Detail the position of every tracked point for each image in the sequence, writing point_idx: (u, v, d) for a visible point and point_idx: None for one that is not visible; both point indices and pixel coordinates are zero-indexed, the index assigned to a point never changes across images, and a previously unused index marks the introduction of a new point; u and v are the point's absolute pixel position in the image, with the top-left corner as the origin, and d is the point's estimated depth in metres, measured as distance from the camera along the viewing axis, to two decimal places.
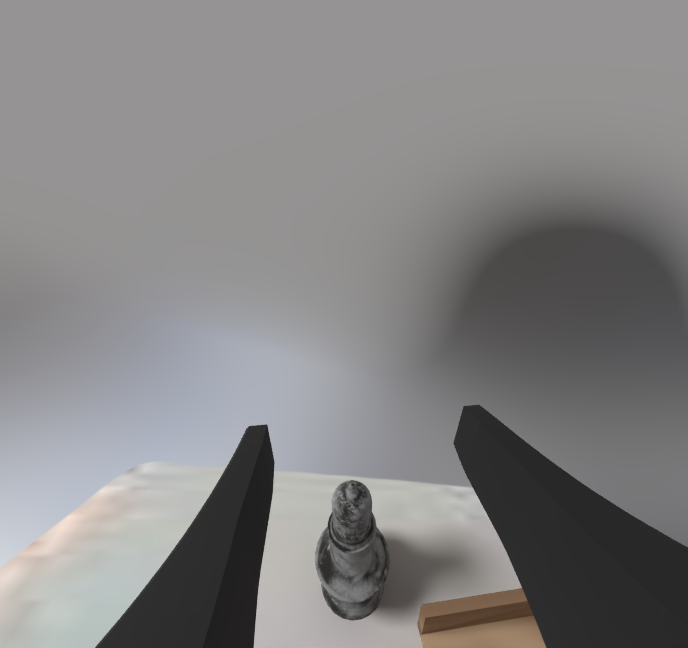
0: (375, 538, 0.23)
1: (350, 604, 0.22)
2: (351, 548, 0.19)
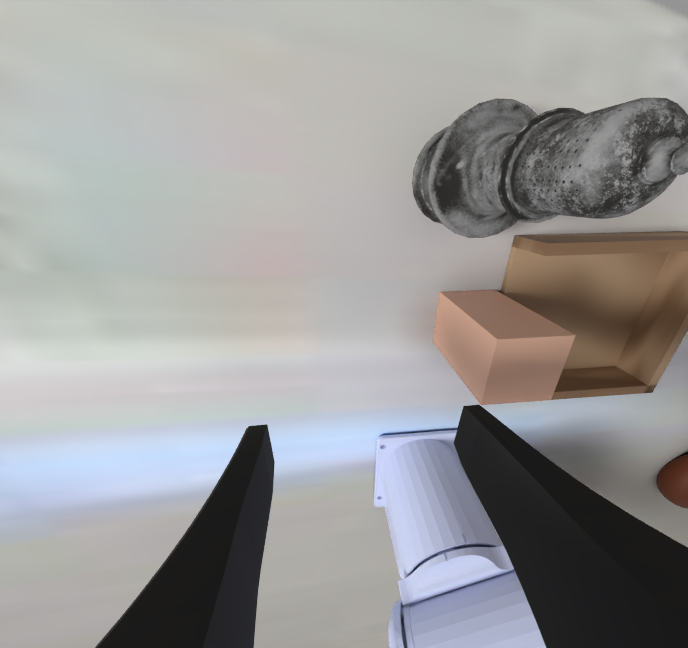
0: None
1: None
2: (531, 217, 0.11)
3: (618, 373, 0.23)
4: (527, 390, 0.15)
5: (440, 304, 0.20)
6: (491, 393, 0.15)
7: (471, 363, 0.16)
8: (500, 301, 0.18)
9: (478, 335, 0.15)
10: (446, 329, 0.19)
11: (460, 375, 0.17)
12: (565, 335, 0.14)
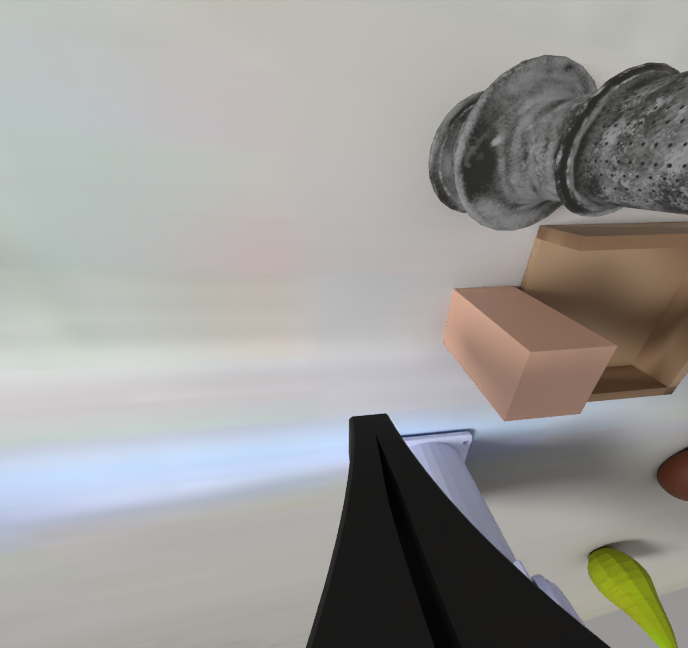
0: None
1: None
2: (592, 210, 0.08)
3: (636, 373, 0.21)
4: (556, 404, 0.13)
5: (453, 302, 0.18)
6: (517, 409, 0.13)
7: (492, 373, 0.14)
8: (522, 301, 0.16)
9: (503, 344, 0.13)
10: (460, 331, 0.17)
11: (477, 384, 0.16)
12: (606, 346, 0.12)
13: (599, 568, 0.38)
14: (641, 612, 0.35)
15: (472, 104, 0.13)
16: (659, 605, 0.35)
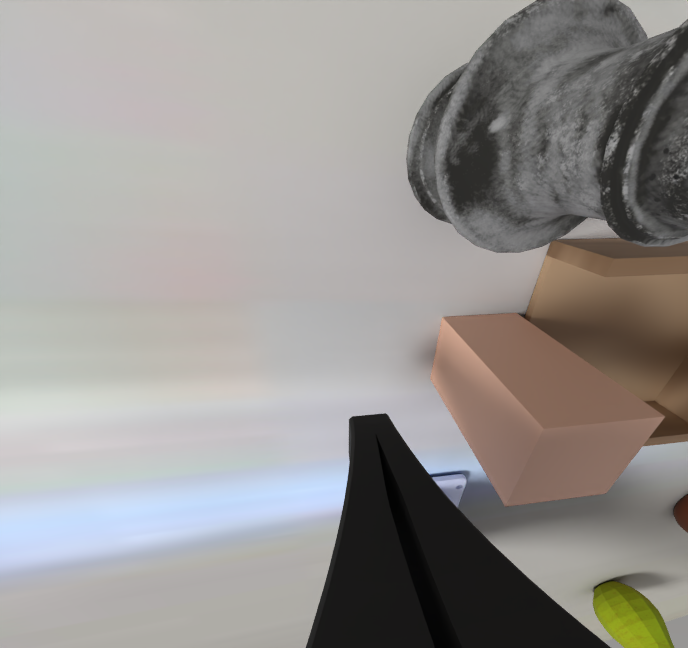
0: None
1: None
2: (660, 238, 0.05)
3: (661, 412, 0.18)
4: (575, 486, 0.10)
5: (442, 334, 0.14)
6: (523, 493, 0.10)
7: (490, 438, 0.11)
8: (528, 337, 0.13)
9: (504, 405, 0.10)
10: (451, 371, 0.14)
11: (471, 444, 0.12)
12: (649, 417, 0.09)
13: (606, 606, 0.35)
14: None
15: None
16: None
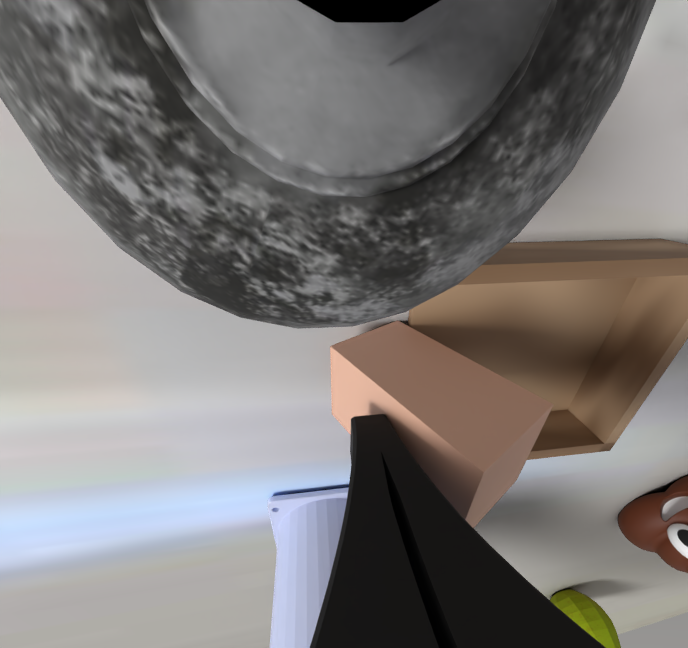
0: None
1: None
2: None
3: (570, 422, 0.17)
4: (500, 492, 0.10)
5: (335, 365, 0.12)
6: None
7: None
8: (419, 347, 0.12)
9: (429, 445, 0.09)
10: (355, 407, 0.12)
11: None
12: (545, 411, 0.09)
13: None
14: None
15: None
16: None
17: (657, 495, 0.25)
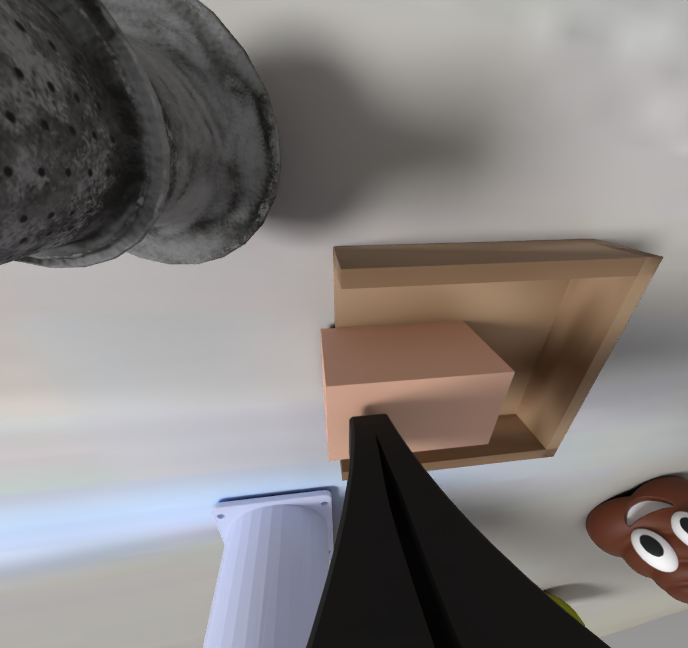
0: (232, 107, 0.06)
1: None
2: (38, 258, 0.04)
3: (515, 427, 0.17)
4: None
5: (336, 402, 0.10)
6: None
7: (459, 421, 0.12)
8: (372, 337, 0.13)
9: (470, 388, 0.11)
10: None
11: (434, 447, 0.12)
12: (467, 325, 0.14)
13: None
14: None
15: None
16: None
17: (622, 499, 0.25)
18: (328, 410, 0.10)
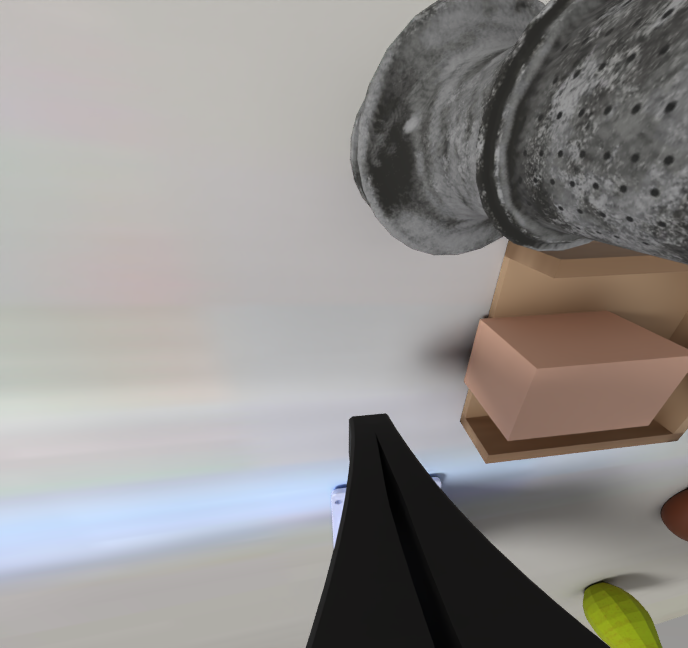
0: None
1: None
2: (550, 241, 0.05)
3: None
4: None
5: (539, 384, 0.11)
6: None
7: (633, 403, 0.12)
8: (536, 325, 0.13)
9: (656, 370, 0.11)
10: (562, 404, 0.12)
11: (601, 428, 0.13)
12: (616, 315, 0.14)
13: (595, 608, 0.35)
14: None
15: None
16: None
17: None
18: (529, 391, 0.11)
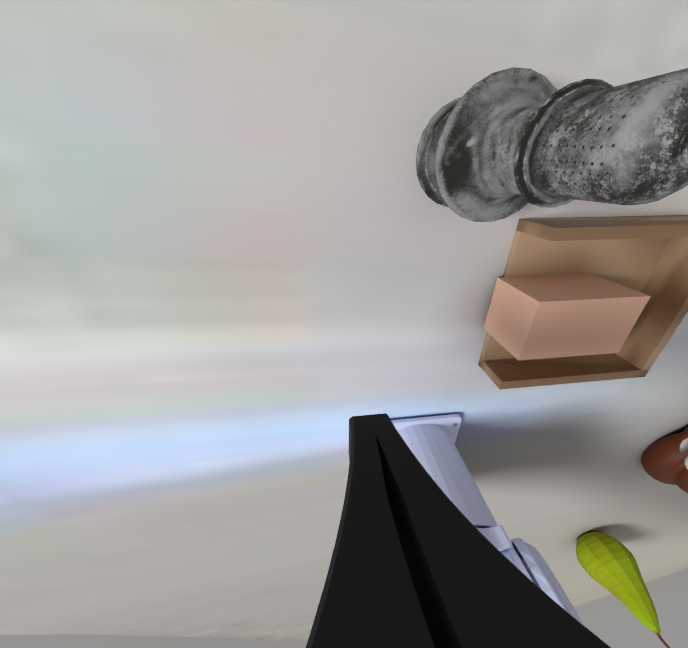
0: None
1: None
2: (547, 201, 0.10)
3: (613, 358, 0.23)
4: None
5: (540, 314, 0.16)
6: None
7: (606, 333, 0.18)
8: (538, 281, 0.19)
9: (621, 307, 0.17)
10: (556, 331, 0.17)
11: (584, 353, 0.18)
12: (597, 276, 0.20)
13: (586, 551, 0.40)
14: (625, 590, 0.36)
15: None
16: (642, 584, 0.36)
17: (675, 435, 0.31)
18: (534, 320, 0.16)
